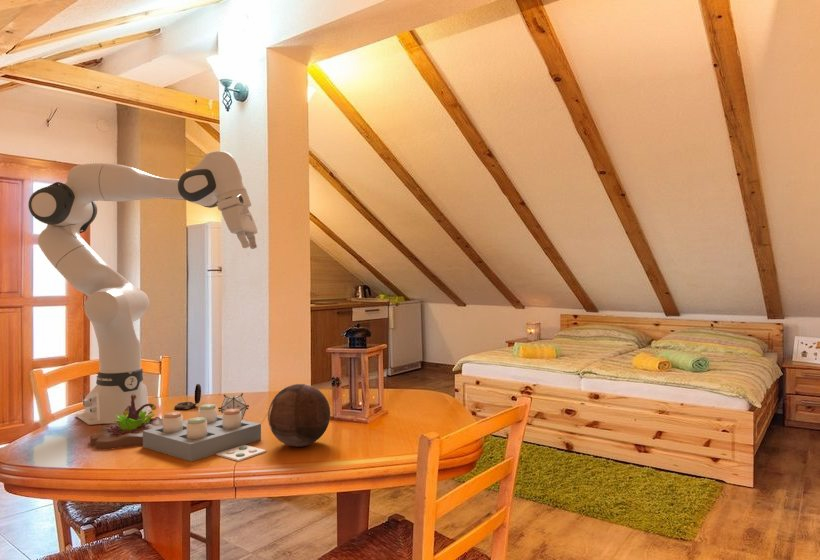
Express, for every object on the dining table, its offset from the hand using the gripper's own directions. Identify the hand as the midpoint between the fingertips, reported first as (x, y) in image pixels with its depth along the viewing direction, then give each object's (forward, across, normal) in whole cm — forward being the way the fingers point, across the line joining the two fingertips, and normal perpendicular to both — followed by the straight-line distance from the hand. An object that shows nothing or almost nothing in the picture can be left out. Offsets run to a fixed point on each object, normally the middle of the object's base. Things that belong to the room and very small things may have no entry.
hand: (250, 248), depth 166 cm
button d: (+45, +27, -14) cm, 55 cm away
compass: (+41, -10, -38) cm, 57 cm away
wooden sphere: (+53, +32, +2) cm, 62 cm away
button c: (+43, +35, -20) cm, 59 cm away
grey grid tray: (+45, +28, -21) cm, 57 cm away
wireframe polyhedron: (+47, +8, -19) cm, 51 cm away
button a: (+41, +29, -27) cm, 57 cm away
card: (+49, +37, -10) cm, 62 cm away
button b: (+43, +21, -21) cm, 52 cm away
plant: (+40, +20, -41) cm, 60 cm away
